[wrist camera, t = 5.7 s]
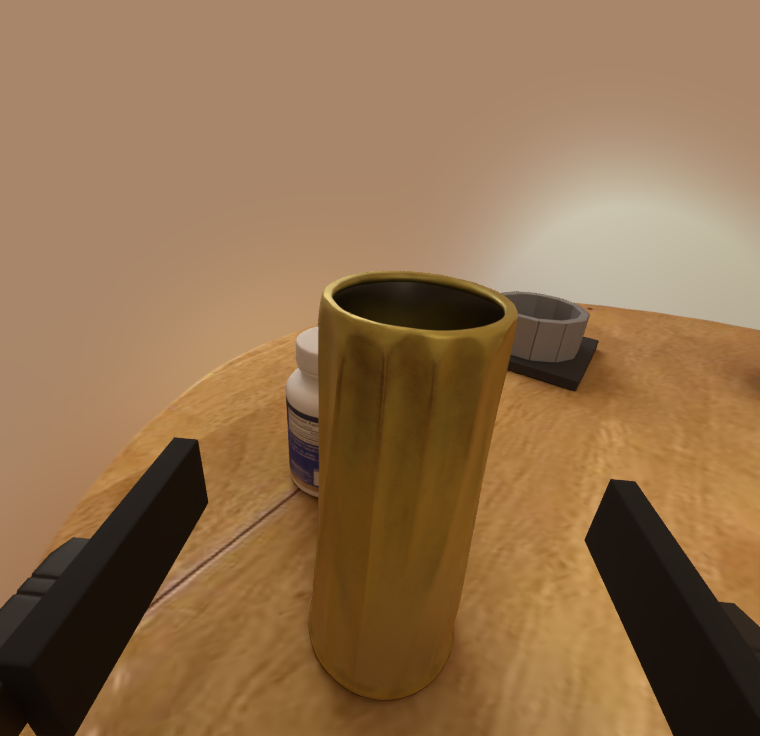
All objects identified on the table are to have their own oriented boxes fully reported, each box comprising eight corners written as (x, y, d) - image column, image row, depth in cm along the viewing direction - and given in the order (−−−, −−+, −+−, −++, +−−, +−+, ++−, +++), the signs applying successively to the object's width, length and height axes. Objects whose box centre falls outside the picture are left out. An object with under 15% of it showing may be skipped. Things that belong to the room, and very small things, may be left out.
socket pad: (452, 352, 42) (459, 305, 40) (492, 321, 51) (500, 281, 49) (575, 391, 37) (592, 340, 34) (596, 348, 46) (610, 305, 44)
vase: (285, 678, 15) (261, 318, 9) (333, 544, 21) (341, 258, 14) (449, 723, 15) (558, 361, 8) (455, 571, 20) (524, 280, 13)
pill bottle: (322, 434, 29) (322, 313, 25) (389, 460, 27) (402, 334, 23) (270, 480, 24) (261, 343, 20) (347, 516, 22) (353, 372, 18)
